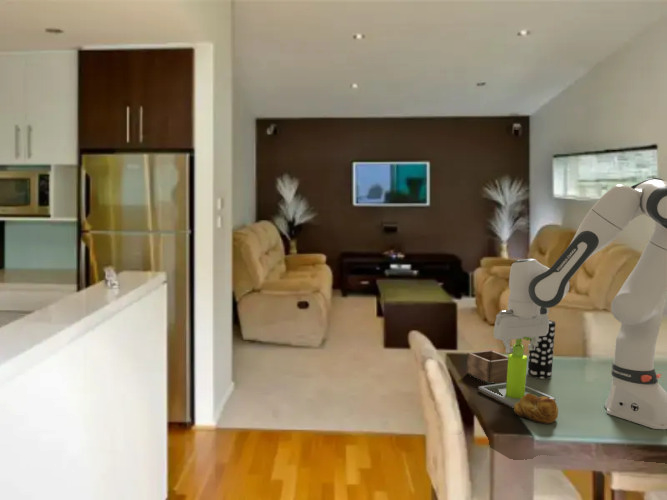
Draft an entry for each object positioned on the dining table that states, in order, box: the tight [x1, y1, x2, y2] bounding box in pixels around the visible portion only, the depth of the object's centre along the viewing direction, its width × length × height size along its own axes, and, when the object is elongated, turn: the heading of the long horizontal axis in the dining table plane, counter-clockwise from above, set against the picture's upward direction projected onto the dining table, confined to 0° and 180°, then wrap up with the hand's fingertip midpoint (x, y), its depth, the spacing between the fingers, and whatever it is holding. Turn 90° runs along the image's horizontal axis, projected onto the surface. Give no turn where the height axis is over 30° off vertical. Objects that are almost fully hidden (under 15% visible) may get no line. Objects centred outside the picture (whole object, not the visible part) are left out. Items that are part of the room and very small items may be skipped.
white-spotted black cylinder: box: [527, 319, 556, 380], centre depth 225 cm, size 8×8×20 cm
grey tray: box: [478, 382, 556, 409], centre depth 201 cm, size 18×16×2 cm
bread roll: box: [513, 394, 559, 425], centre depth 183 cm, size 13×10×8 cm
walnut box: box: [466, 349, 508, 384], centre depth 221 cm, size 12×11×8 cm
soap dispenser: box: [505, 337, 531, 398], centre depth 200 cm, size 6×7×20 cm
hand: (520, 351), depth 199 cm, fingers open, 8 cm apart
